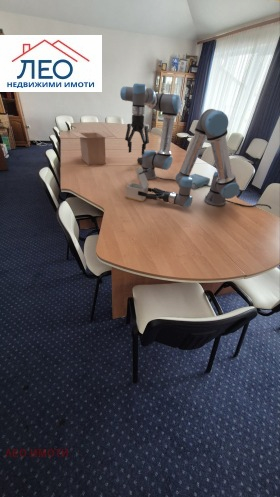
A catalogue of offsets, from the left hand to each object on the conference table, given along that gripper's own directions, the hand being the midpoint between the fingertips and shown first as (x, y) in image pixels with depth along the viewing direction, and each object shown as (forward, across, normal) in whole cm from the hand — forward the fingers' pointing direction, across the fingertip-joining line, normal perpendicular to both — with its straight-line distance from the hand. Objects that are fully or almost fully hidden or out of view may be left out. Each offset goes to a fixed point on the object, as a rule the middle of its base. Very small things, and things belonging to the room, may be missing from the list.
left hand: (136, 153), depth 149 cm
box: (+31, -78, +61) cm, 104 cm away
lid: (+16, +5, 0) cm, 17 cm away
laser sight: (+31, -26, +85) cm, 94 cm away
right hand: (+25, +5, 0) cm, 26 cm away
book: (+31, +34, +55) cm, 72 cm away
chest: (+31, +2, 0) cm, 32 cm away
